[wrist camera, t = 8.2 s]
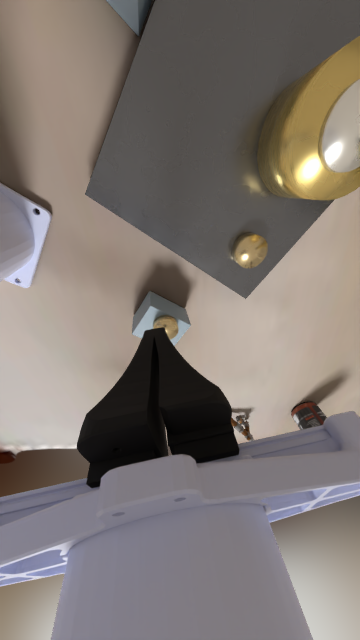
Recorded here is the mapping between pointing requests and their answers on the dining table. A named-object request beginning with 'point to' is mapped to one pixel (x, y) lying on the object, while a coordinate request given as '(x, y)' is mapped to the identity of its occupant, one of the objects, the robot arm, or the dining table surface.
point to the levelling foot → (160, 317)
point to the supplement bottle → (308, 415)
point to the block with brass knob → (132, 12)
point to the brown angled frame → (240, 428)
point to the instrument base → (235, 130)
